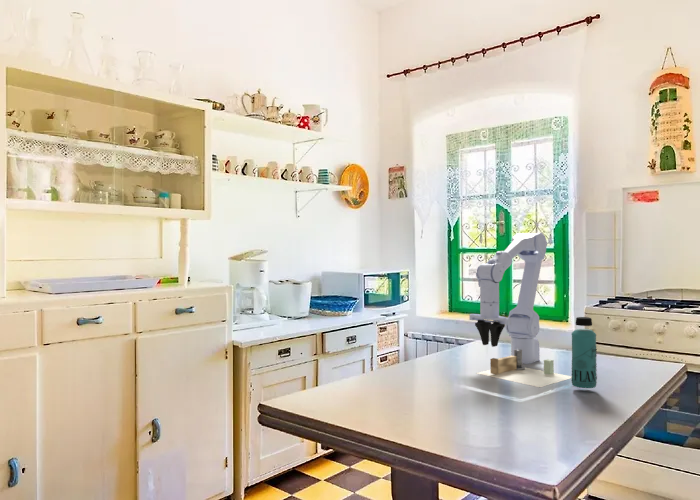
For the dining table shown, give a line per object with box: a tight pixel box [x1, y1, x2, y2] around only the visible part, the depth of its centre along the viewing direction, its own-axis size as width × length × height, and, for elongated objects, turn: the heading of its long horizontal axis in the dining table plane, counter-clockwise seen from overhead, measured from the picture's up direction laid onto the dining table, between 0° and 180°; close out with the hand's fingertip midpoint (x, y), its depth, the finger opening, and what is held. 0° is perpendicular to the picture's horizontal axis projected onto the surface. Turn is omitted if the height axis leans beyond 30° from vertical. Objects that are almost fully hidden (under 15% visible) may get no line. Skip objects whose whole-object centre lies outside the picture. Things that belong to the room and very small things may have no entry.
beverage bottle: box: [570, 316, 598, 389], centre depth 149 cm, size 6×7×20 cm
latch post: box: [543, 358, 555, 374], centre depth 166 cm, size 2×2×5 cm
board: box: [476, 367, 572, 388], centre depth 164 cm, size 18×22×1 cm
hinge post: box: [514, 349, 525, 370], centre depth 172 cm, size 4×4×7 cm
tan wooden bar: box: [490, 355, 516, 374], centre depth 168 cm, size 11×2×4 cm, turn 128°
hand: (489, 345), depth 172 cm, fingers open, 3 cm apart
